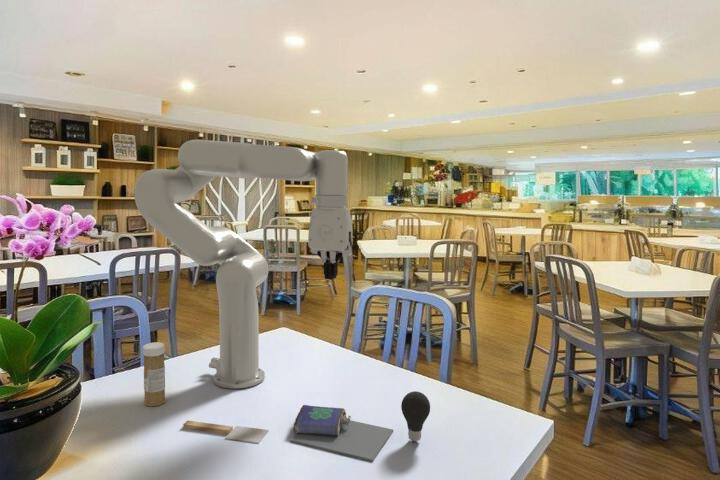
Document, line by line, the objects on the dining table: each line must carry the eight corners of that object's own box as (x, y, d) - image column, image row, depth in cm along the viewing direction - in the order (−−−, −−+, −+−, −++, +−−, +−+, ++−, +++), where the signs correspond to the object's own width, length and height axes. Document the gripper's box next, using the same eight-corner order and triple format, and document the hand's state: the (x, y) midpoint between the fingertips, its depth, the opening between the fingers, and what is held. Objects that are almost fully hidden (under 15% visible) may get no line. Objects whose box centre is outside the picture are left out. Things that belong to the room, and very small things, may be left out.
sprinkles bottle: (145, 399, 110) (144, 342, 109) (166, 397, 112) (165, 340, 110) (142, 408, 106) (141, 348, 105) (165, 406, 107) (163, 347, 106)
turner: (178, 433, 96) (178, 428, 96) (192, 421, 101) (192, 416, 101) (258, 444, 93) (258, 439, 93) (268, 431, 98) (268, 426, 97)
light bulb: (421, 452, 91) (423, 401, 90) (395, 443, 94) (396, 394, 93) (433, 439, 96) (435, 391, 95) (407, 431, 99) (409, 384, 98)
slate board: (290, 441, 94) (290, 439, 94) (318, 415, 105) (318, 413, 105) (372, 461, 87) (372, 459, 87) (393, 431, 99) (393, 429, 98)
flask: (293, 435, 96) (347, 438, 94) (293, 421, 95) (347, 424, 94) (304, 414, 105) (353, 417, 103) (304, 401, 104) (353, 403, 103)
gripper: (296, 202, 115) (296, 278, 117) (352, 204, 109) (351, 284, 111) (312, 201, 122) (311, 273, 124) (366, 203, 116) (364, 278, 118)
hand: (330, 278), depth 118 cm, fingers closed
